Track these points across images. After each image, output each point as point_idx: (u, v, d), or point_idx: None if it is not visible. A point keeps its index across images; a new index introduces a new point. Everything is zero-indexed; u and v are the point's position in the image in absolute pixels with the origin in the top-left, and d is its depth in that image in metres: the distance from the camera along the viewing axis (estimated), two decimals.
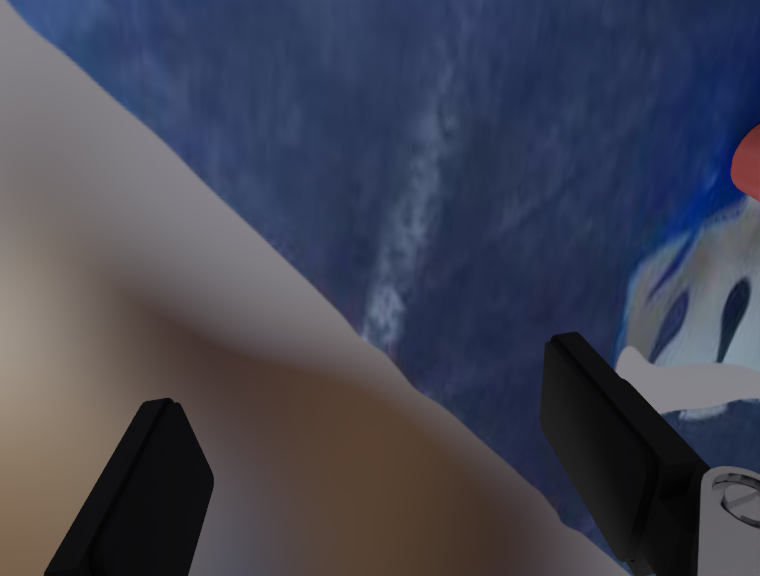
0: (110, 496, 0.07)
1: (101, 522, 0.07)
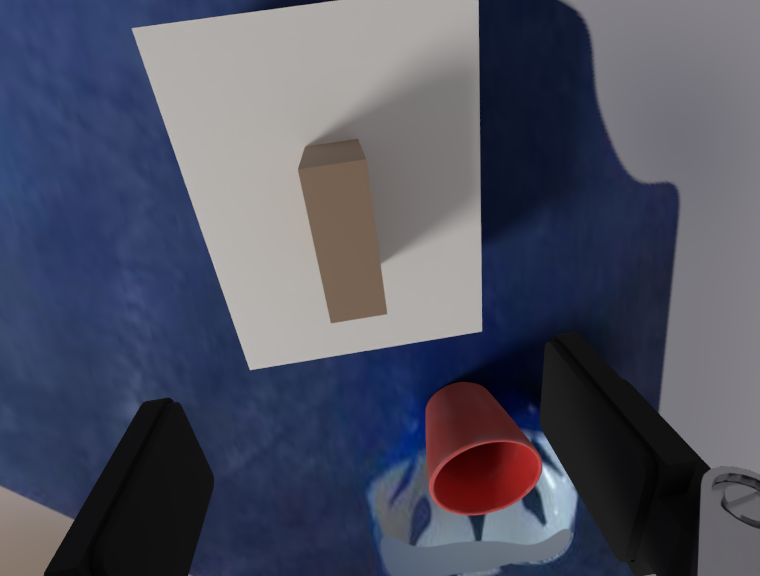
0: (110, 496, 0.07)
1: (100, 522, 0.07)
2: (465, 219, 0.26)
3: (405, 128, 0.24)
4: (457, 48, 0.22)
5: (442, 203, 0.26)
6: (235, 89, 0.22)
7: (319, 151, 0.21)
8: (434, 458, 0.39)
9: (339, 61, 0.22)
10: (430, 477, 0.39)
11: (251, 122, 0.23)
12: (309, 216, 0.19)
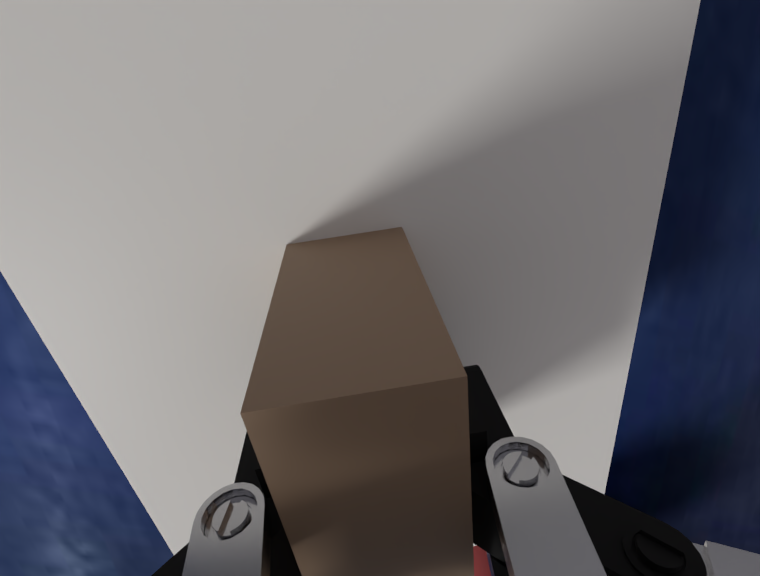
0: None
1: None
2: (601, 364, 0.14)
3: (505, 204, 0.11)
4: (646, 27, 0.09)
5: (562, 340, 0.13)
6: (118, 124, 0.09)
7: (317, 278, 0.09)
8: None
9: (366, 57, 0.09)
10: None
11: (163, 197, 0.10)
12: (284, 515, 0.06)
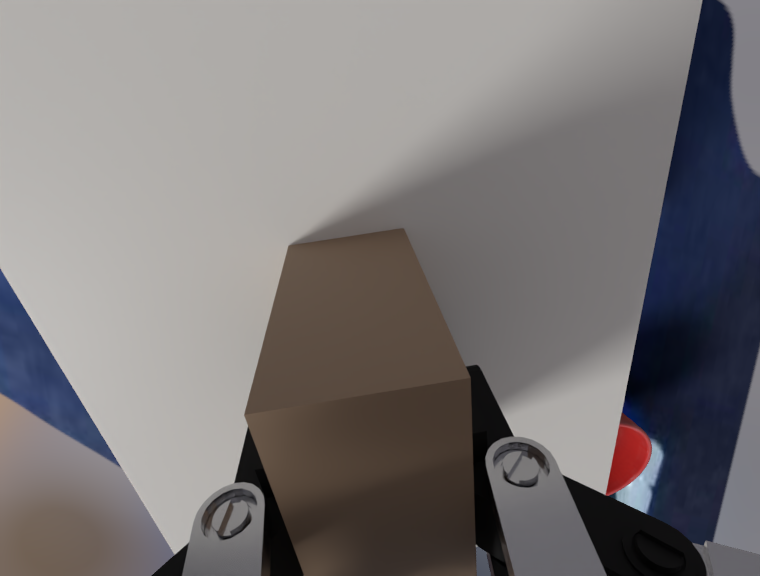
0: None
1: None
2: (602, 365, 0.14)
3: (507, 205, 0.11)
4: (647, 28, 0.09)
5: (563, 340, 0.13)
6: (120, 126, 0.09)
7: (319, 279, 0.09)
8: None
9: (369, 59, 0.09)
10: None
11: (165, 198, 0.10)
12: (287, 516, 0.06)
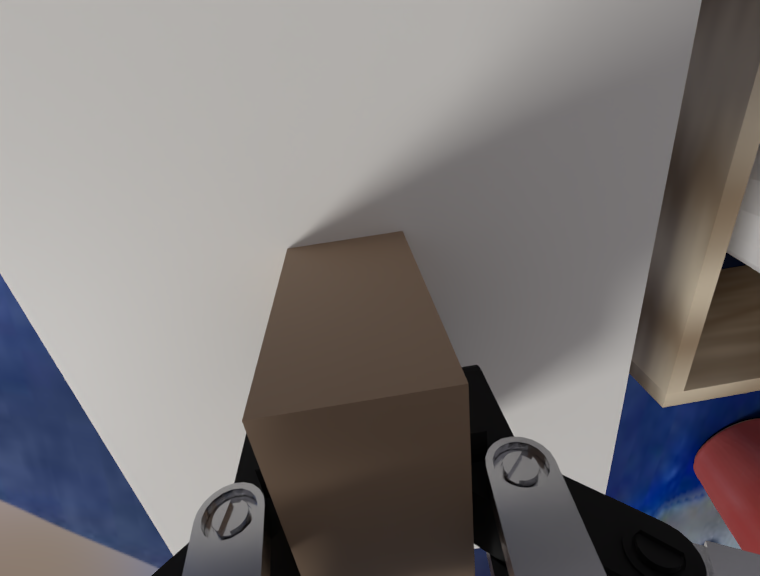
0: None
1: None
2: (601, 368, 0.14)
3: (506, 208, 0.11)
4: (646, 32, 0.09)
5: (562, 343, 0.13)
6: (119, 129, 0.09)
7: (318, 283, 0.09)
8: None
9: (367, 62, 0.09)
10: None
11: (164, 201, 0.10)
12: (285, 521, 0.06)
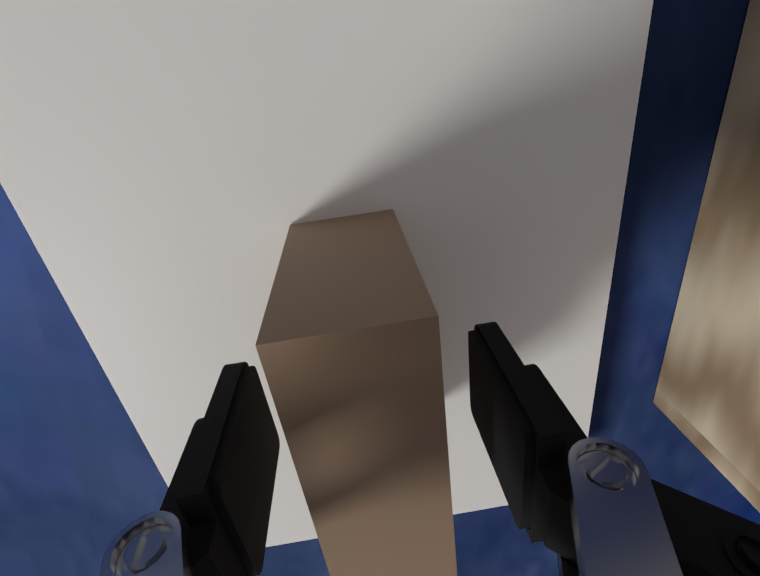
0: (215, 439, 0.08)
1: (212, 459, 0.08)
2: (576, 338, 0.15)
3: (485, 188, 0.12)
4: (605, 31, 0.11)
5: (539, 314, 0.14)
6: (143, 117, 0.10)
7: (317, 250, 0.10)
8: None
9: (360, 58, 0.10)
10: None
11: (181, 181, 0.11)
12: (290, 439, 0.08)
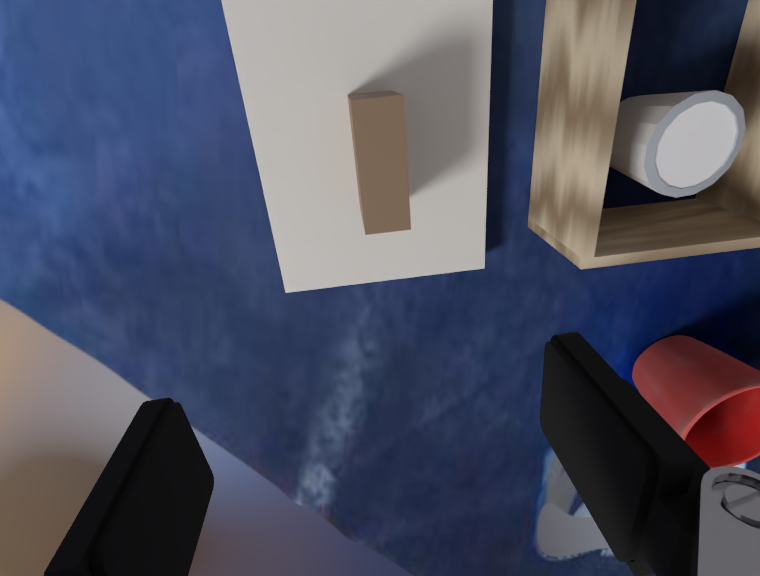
0: (110, 496, 0.07)
1: (100, 523, 0.07)
2: (474, 165, 0.32)
3: (429, 83, 0.29)
4: (475, 18, 0.27)
5: (456, 150, 0.31)
6: (295, 43, 0.27)
7: (362, 95, 0.27)
8: (688, 405, 0.37)
9: (380, 24, 0.27)
10: (685, 424, 0.37)
11: (306, 71, 0.28)
12: (356, 140, 0.24)
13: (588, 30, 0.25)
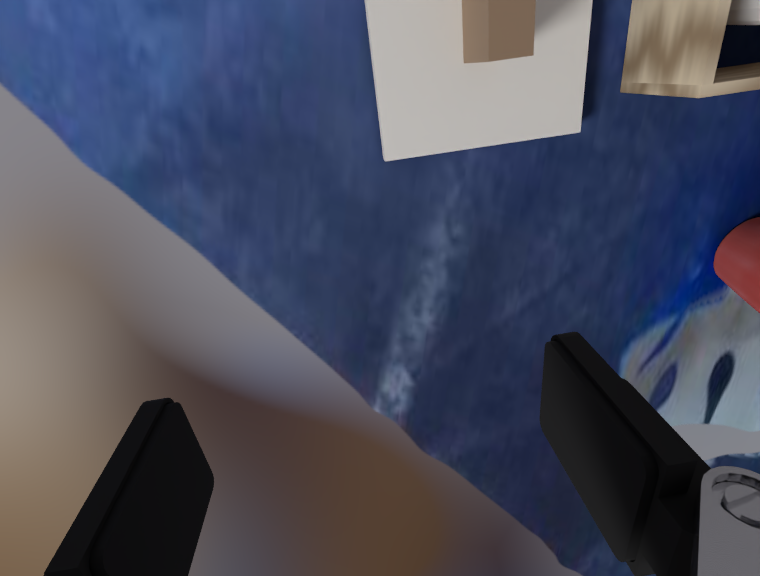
0: (110, 496, 0.07)
1: (101, 522, 0.07)
2: (578, 13, 0.32)
3: None
4: None
5: None
6: None
7: None
8: None
9: None
10: None
11: None
12: None
13: None
